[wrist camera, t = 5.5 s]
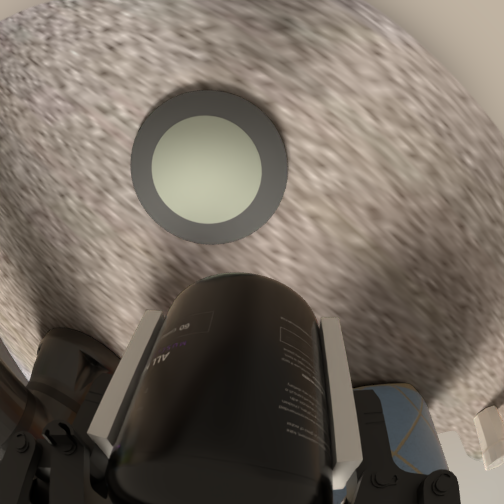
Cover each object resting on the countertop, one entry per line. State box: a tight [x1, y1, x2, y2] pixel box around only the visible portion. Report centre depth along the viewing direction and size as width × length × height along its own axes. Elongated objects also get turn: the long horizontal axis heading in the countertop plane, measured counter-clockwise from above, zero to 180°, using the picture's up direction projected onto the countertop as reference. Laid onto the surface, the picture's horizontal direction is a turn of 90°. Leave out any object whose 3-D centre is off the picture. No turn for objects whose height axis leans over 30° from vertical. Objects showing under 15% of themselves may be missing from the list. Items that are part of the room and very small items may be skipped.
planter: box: [333, 383, 449, 504], centre depth 30 cm, size 23×23×24 cm
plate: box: [131, 90, 288, 244], centre depth 25 cm, size 13×13×1 cm
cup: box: [473, 405, 504, 470], centre depth 36 cm, size 7×7×11 cm
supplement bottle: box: [104, 273, 333, 504], centre depth 9 cm, size 7×7×12 cm
